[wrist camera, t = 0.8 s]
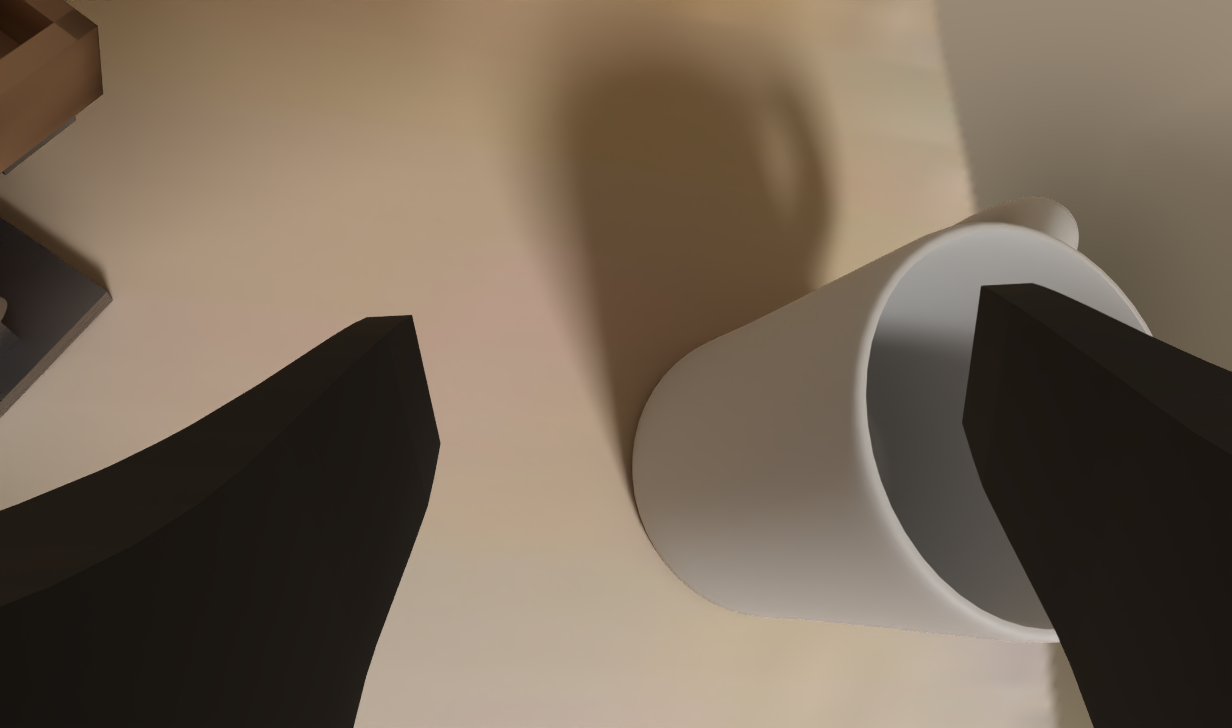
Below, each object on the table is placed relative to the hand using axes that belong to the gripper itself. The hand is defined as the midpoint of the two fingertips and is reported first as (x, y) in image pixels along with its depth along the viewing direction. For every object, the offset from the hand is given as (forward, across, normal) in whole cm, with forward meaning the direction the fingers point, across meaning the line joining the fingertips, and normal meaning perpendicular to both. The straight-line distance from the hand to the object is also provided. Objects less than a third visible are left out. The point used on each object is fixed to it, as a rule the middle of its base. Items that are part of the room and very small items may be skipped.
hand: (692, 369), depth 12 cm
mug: (+14, -3, +10) cm, 17 cm away
